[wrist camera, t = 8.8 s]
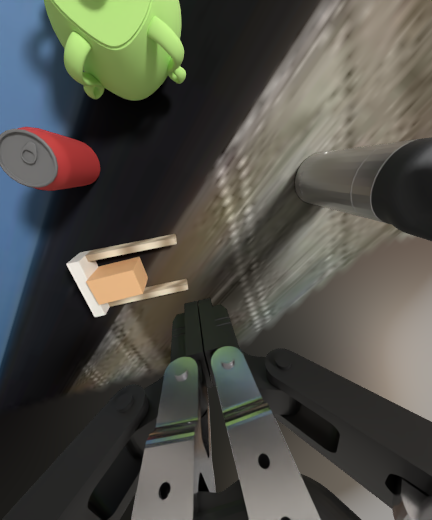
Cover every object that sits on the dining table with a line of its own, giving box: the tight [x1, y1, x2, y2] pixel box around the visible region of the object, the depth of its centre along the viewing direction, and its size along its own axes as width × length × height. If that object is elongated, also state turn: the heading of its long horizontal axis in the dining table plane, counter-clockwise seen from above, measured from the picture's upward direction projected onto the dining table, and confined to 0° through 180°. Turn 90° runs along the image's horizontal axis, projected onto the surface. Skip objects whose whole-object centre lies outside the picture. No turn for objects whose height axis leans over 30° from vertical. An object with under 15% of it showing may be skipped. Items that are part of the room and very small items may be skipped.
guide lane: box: [85, 234, 188, 307], centre depth 40 cm, size 16×11×2 cm
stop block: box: [66, 251, 109, 317], centre depth 38 cm, size 2×11×5 cm, turn 9°
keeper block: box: [86, 257, 148, 305], centre depth 38 cm, size 8×5×6 cm, turn 102°
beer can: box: [0, 127, 100, 191], centre depth 26 cm, size 7×7×12 cm
